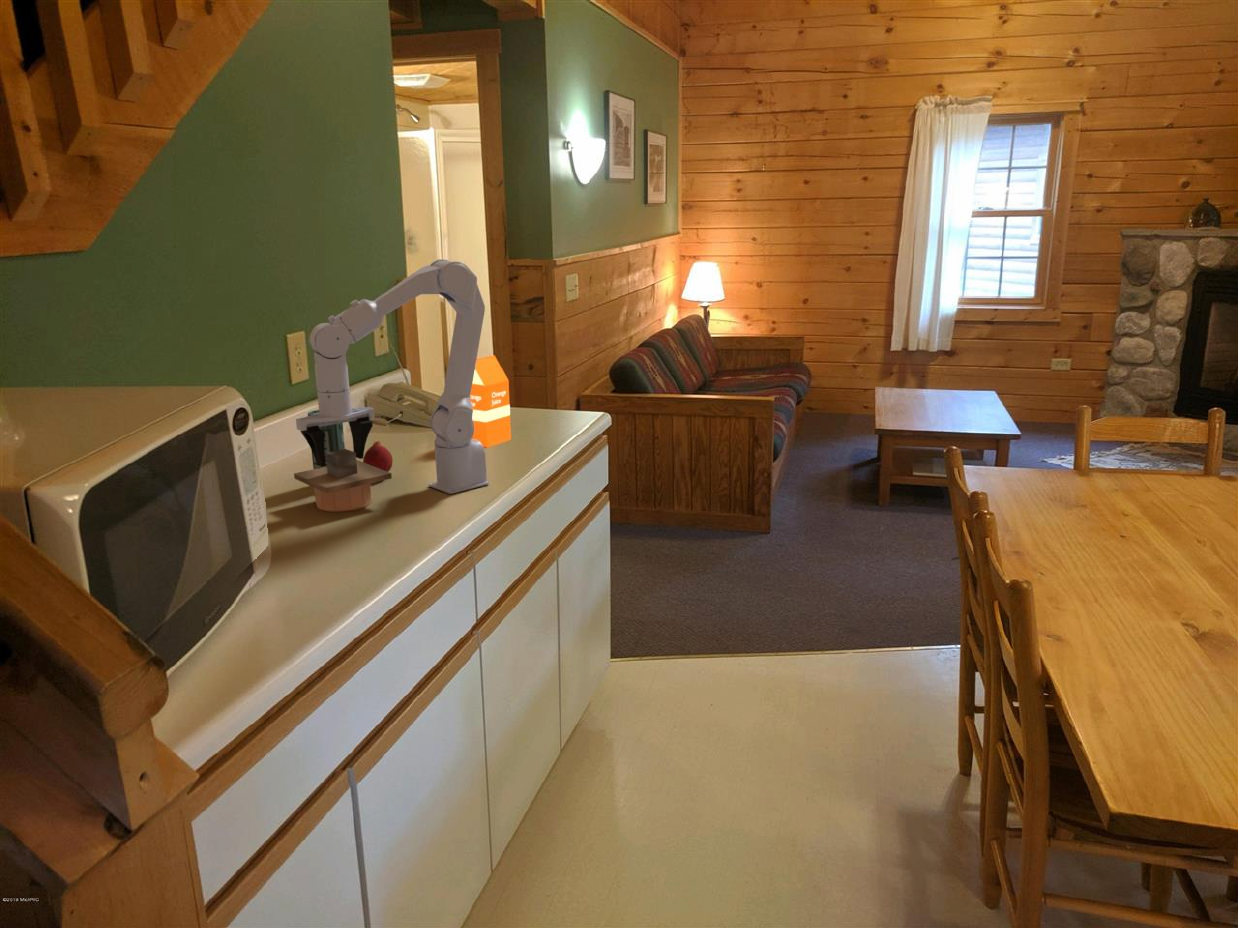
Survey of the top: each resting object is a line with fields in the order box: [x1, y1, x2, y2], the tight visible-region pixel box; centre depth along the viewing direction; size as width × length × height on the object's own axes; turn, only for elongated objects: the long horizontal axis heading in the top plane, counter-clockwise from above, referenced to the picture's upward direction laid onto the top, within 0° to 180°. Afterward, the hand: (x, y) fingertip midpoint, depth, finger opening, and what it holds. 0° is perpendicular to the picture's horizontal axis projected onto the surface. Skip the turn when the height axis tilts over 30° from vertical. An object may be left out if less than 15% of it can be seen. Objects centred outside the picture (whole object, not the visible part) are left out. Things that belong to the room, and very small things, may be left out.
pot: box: [313, 483, 373, 513], centre depth 174 cm, size 10×10×5 cm
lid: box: [293, 448, 393, 493], centre depth 172 cm, size 13×13×5 cm
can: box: [307, 409, 346, 470], centre depth 184 cm, size 6×6×15 cm
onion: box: [362, 440, 394, 472], centre depth 189 cm, size 6×6×8 cm
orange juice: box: [470, 355, 512, 448], centre depth 216 cm, size 8×9×20 cm
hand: (340, 461), depth 172 cm, fingers open, 7 cm apart
